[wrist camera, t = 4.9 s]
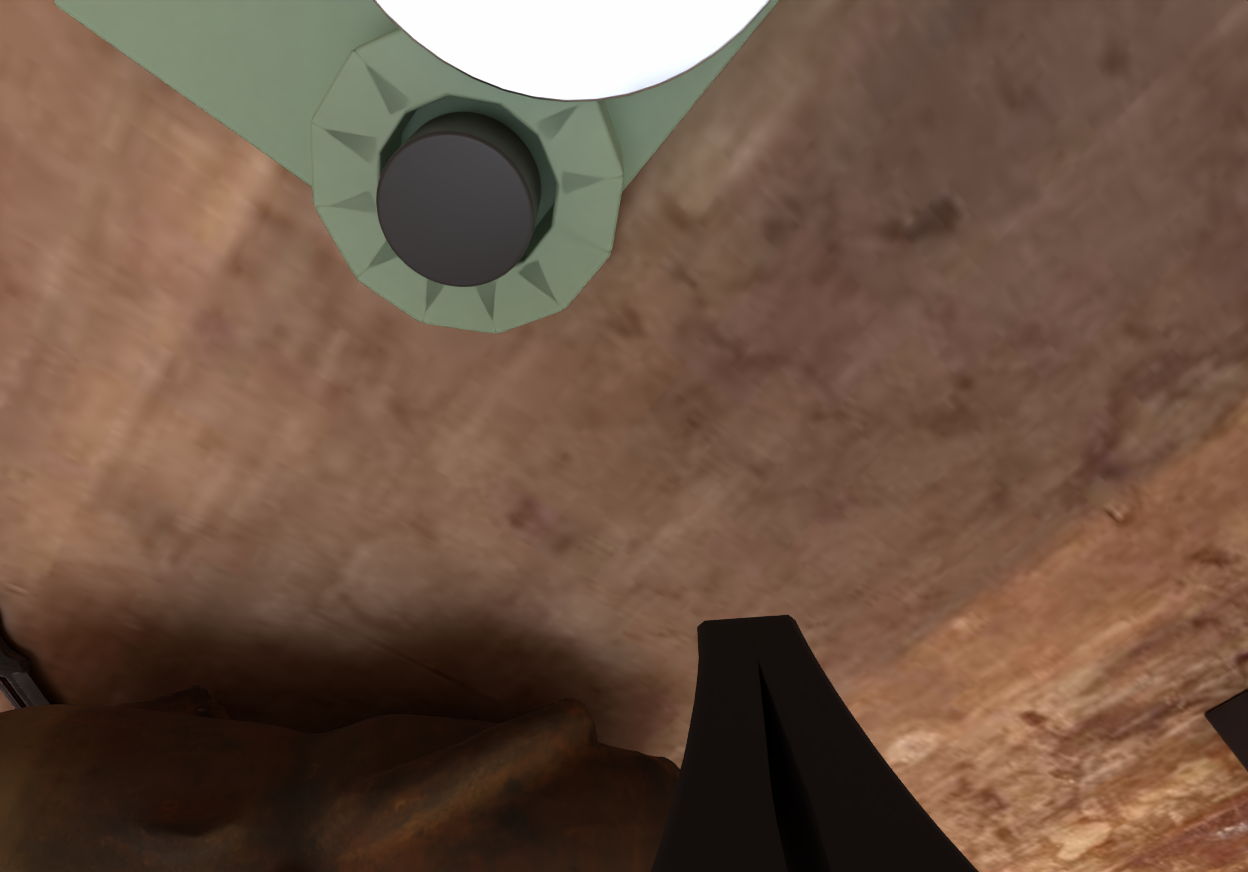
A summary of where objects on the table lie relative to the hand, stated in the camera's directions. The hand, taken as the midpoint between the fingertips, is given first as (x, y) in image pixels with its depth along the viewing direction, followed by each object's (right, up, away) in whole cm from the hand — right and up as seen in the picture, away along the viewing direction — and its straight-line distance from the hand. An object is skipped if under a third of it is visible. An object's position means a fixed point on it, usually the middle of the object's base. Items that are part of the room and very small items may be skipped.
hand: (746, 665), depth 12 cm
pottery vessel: (-10, -6, +15) cm, 19 cm away
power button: (-5, +8, +3) cm, 10 cm away
